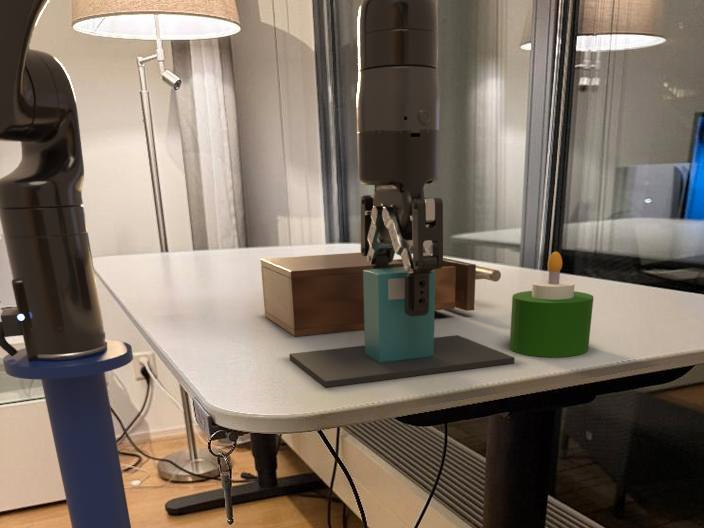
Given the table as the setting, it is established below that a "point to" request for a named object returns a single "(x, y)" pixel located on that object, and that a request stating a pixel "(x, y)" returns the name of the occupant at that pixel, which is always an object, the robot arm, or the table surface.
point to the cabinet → (316, 292)
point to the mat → (396, 362)
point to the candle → (551, 317)
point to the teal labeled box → (395, 318)
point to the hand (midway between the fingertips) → (398, 308)
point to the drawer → (459, 284)
